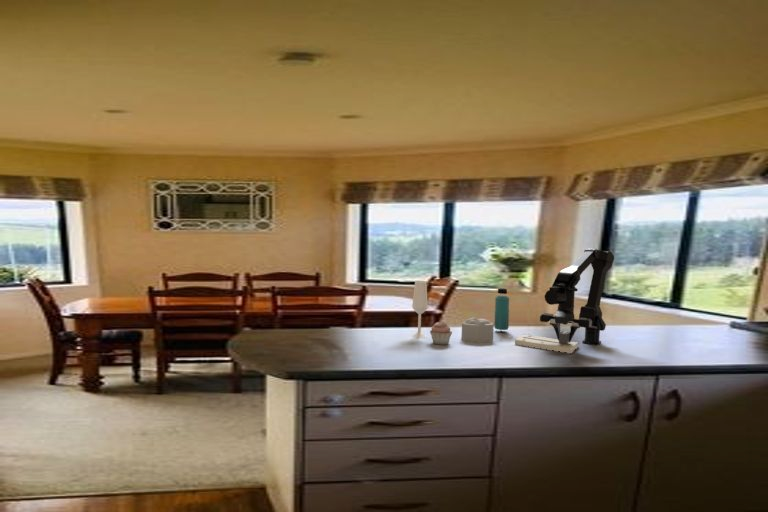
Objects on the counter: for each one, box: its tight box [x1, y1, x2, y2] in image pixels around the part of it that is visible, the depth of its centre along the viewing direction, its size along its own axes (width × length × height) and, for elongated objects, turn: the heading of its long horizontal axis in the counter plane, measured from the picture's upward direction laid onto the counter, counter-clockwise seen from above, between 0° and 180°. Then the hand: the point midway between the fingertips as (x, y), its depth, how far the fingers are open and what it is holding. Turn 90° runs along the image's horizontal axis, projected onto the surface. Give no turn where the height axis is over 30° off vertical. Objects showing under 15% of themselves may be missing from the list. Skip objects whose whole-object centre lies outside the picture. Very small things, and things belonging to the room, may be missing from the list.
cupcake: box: [429, 319, 453, 346], centre depth 193 cm, size 9×9×10 cm
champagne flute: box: [411, 280, 429, 339], centre depth 204 cm, size 7×7×24 cm
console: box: [514, 334, 579, 354], centre depth 193 cm, size 12×22×2 cm, turn 56°
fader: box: [559, 330, 570, 344], centre depth 189 cm, size 5×3×4 cm, turn 146°
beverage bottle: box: [493, 287, 510, 331], centre depth 216 cm, size 6×7×20 cm
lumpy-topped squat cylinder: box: [460, 317, 495, 343], centre depth 201 cm, size 10×13×9 cm
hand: (564, 341), depth 189 cm, fingers open, 4 cm apart
